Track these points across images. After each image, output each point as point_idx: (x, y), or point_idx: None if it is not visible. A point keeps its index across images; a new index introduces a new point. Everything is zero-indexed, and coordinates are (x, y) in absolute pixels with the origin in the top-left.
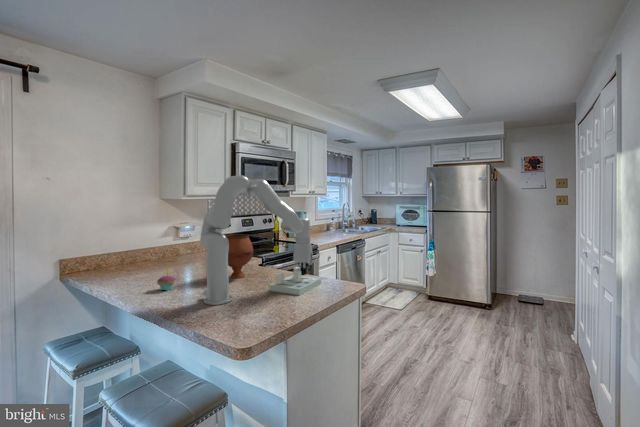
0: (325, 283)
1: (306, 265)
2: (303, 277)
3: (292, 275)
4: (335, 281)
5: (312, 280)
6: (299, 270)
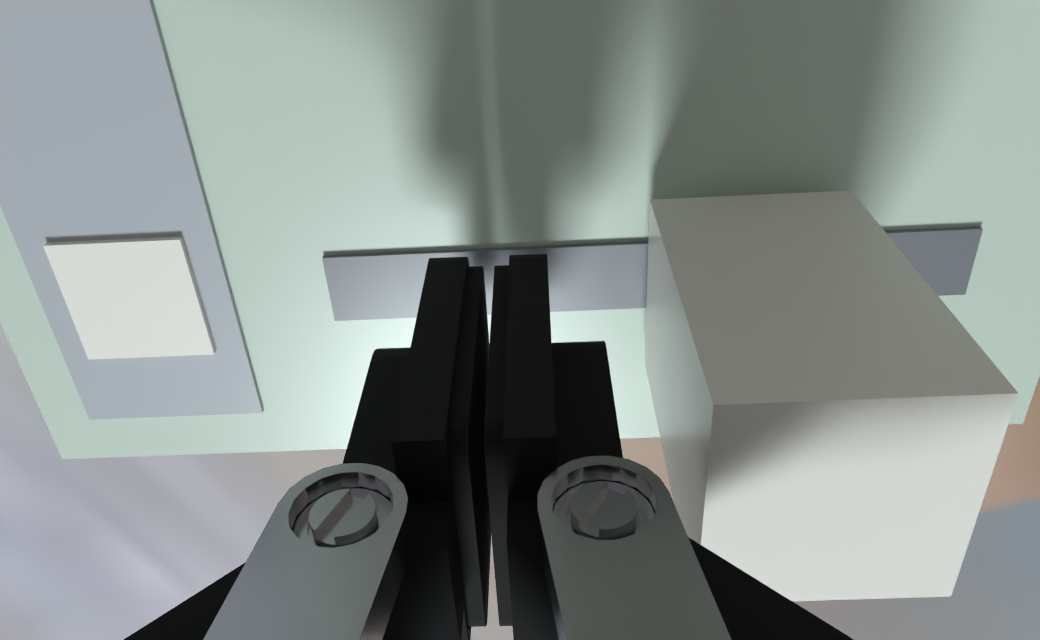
0: None
1: (200, 630)
2: None
3: None
4: (31, 609)
5: (49, 166)
6: (685, 409)
